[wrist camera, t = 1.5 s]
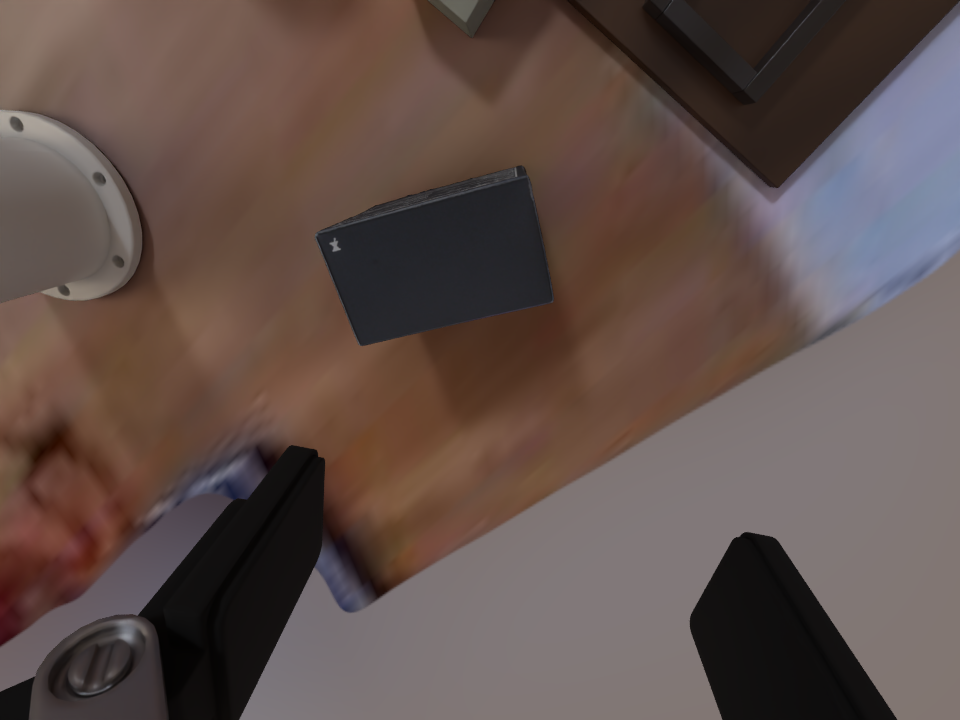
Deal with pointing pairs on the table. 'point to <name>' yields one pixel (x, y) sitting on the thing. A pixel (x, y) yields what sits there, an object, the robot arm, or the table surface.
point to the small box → (439, 257)
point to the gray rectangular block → (464, 12)
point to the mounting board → (767, 63)
